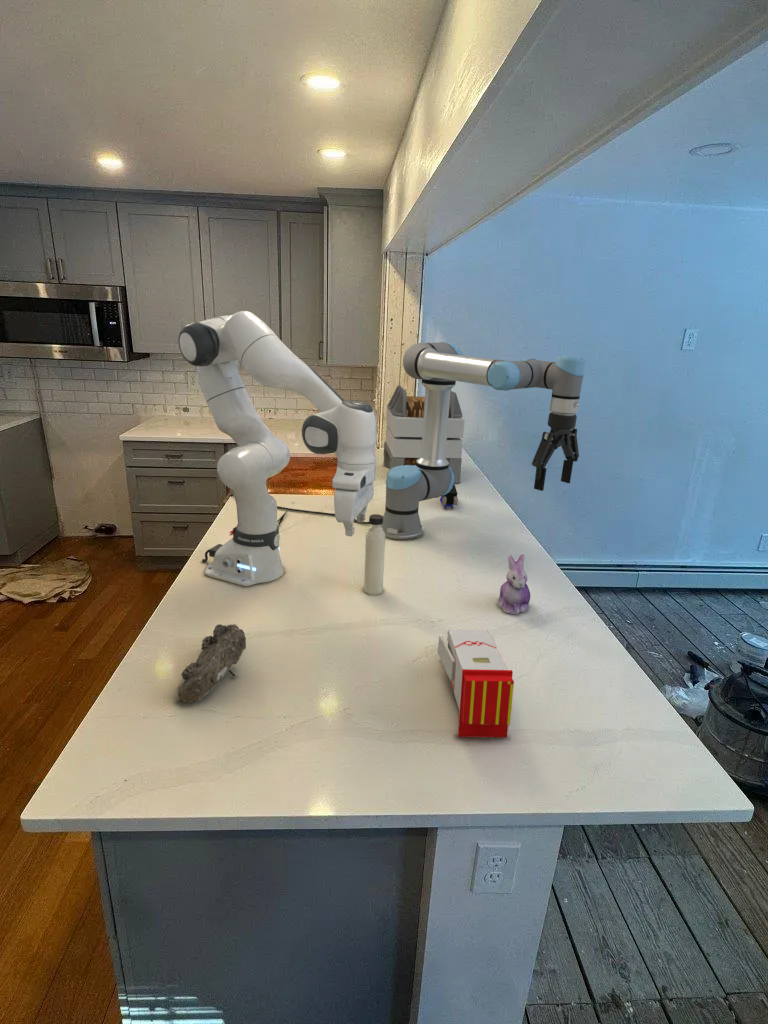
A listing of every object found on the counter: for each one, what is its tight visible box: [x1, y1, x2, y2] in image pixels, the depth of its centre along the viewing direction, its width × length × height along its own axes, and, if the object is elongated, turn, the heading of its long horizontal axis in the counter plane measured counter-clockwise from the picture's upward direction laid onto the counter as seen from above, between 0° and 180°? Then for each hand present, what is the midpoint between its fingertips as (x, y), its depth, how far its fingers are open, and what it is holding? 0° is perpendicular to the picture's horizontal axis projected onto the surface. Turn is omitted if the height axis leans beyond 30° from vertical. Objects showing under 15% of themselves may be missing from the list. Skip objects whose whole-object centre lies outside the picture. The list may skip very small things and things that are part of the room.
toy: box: [437, 628, 515, 738], centre depth 117 cm, size 12×13×30 cm
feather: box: [277, 510, 288, 528], centre depth 213 cm, size 2×28×2 cm
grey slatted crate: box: [383, 384, 465, 484], centre depth 268 cm, size 34×33×41 cm
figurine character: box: [439, 483, 459, 510], centre depth 230 cm, size 7×8×15 cm
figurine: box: [498, 553, 531, 615], centre depth 151 cm, size 9×10×15 cm
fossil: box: [176, 623, 247, 704], centre depth 119 cm, size 22×10×15 cm
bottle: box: [363, 524, 386, 596], centre depth 156 cm, size 5×5×22 cm
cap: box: [368, 513, 383, 525], centre depth 152 cm, size 4×4×2 cm
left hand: (355, 528), depth 136 cm, fingers open, 8 cm apart
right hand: (552, 485), depth 166 cm, fingers open, 13 cm apart
